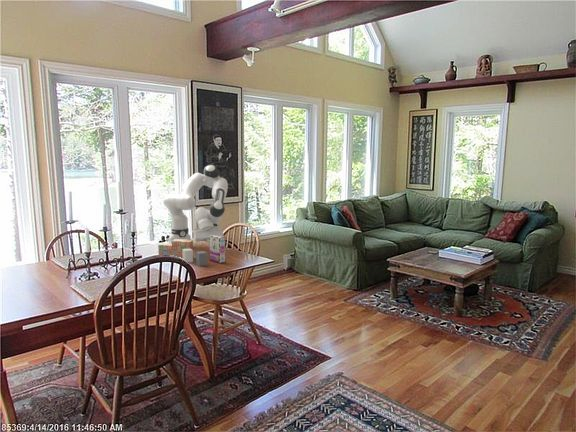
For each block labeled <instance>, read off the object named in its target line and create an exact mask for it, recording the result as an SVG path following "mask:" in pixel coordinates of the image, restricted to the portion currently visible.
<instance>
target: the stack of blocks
mask: <svg viewBox="0 0 576 432" xmlns="http://www.w3.org/2000/svg"><path fill="white" fill-rule="evenodd" d="M157 247H158V256H159V255H174V256H177V257H181V258H183V256H182V249H189V248H190V249H192V250H193V251H194V240H193V239H191V240H186V239H184V240H183V239H174V240H173V241H172V244H171V243H169V242H166V243H165V242H161V243H160V244H158V246H157Z"/></svg>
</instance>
